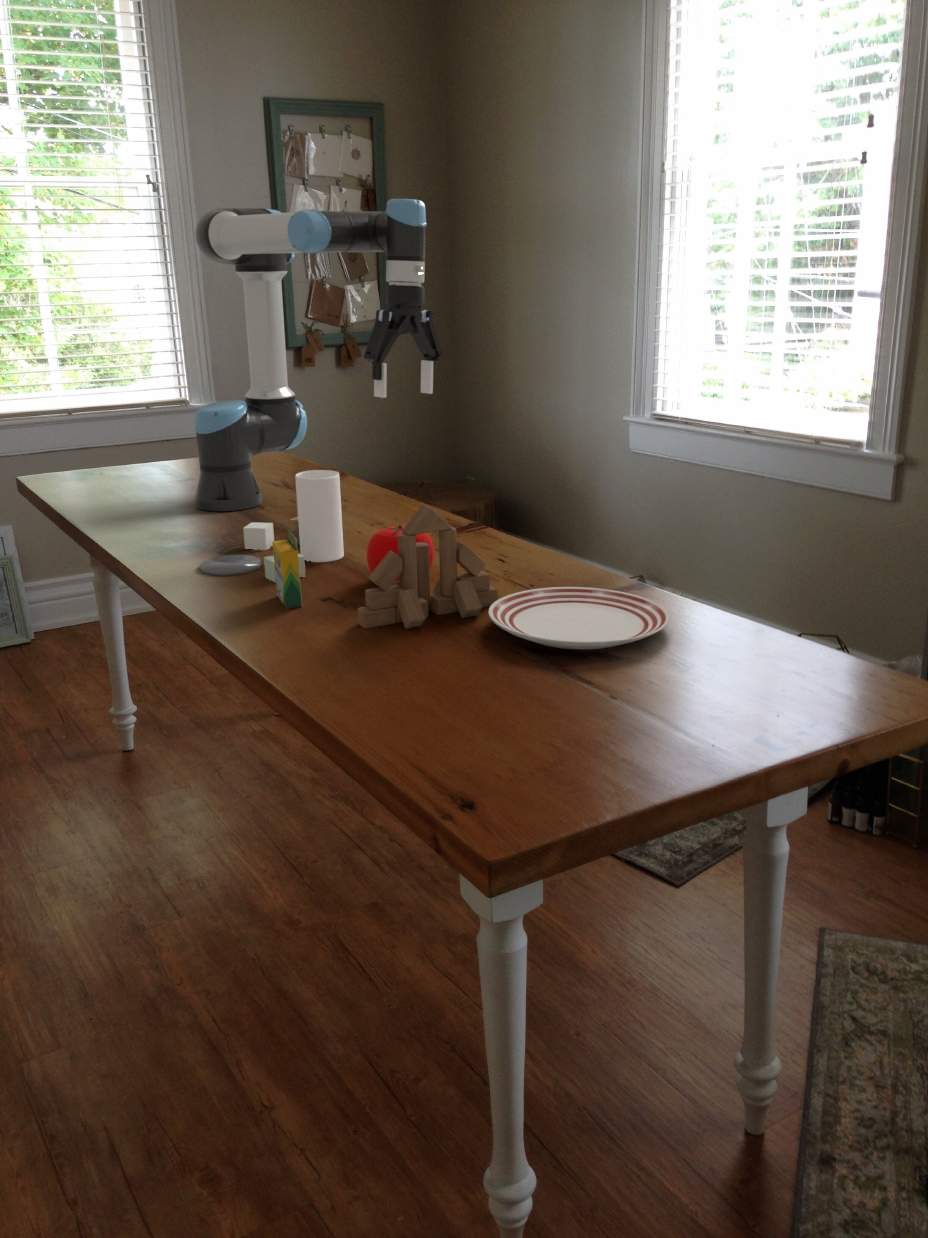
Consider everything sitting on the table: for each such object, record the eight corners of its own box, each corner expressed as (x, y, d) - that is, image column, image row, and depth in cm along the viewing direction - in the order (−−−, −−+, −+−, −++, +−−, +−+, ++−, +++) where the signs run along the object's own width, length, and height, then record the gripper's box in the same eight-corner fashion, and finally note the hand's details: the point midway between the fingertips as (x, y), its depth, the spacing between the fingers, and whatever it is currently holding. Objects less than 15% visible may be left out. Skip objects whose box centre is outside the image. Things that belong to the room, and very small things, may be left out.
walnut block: (291, 543, 210) (289, 519, 208) (304, 537, 214) (303, 514, 212) (312, 546, 208) (310, 521, 206) (325, 540, 212) (324, 516, 210)
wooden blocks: (376, 639, 157) (371, 523, 151) (346, 616, 167) (340, 507, 161) (519, 612, 168) (520, 503, 162) (483, 592, 178) (482, 489, 172)
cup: (347, 550, 204) (343, 469, 198) (338, 562, 196) (334, 478, 191) (306, 550, 205) (301, 469, 199) (296, 562, 197) (290, 478, 192)
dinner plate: (555, 592, 178) (555, 573, 177) (701, 624, 161) (702, 603, 160) (451, 636, 158) (451, 615, 157) (606, 678, 141) (607, 655, 140)
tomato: (375, 595, 177) (372, 535, 173) (362, 576, 187) (359, 519, 184) (443, 588, 180) (441, 529, 176) (427, 570, 190) (425, 514, 187)
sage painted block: (265, 578, 188) (263, 557, 186) (295, 572, 191) (294, 551, 189) (275, 583, 184) (273, 562, 183) (305, 577, 188) (304, 556, 186)
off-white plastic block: (245, 549, 206) (243, 527, 204) (253, 544, 210) (251, 522, 209) (266, 550, 205) (265, 528, 204) (274, 544, 209) (272, 522, 208)
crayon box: (276, 596, 177) (270, 530, 173) (293, 594, 178) (288, 528, 174) (284, 609, 171) (279, 540, 167) (302, 607, 171) (298, 538, 168)
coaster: (189, 567, 194) (188, 563, 194) (239, 555, 202) (239, 551, 201) (222, 579, 187) (221, 574, 187) (272, 566, 194) (272, 562, 194)
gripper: (373, 283, 192) (373, 400, 198) (461, 285, 210) (458, 393, 216) (345, 282, 196) (345, 396, 203) (433, 284, 214) (431, 389, 221)
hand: (404, 395), depth 210 cm, fingers open, 13 cm apart
